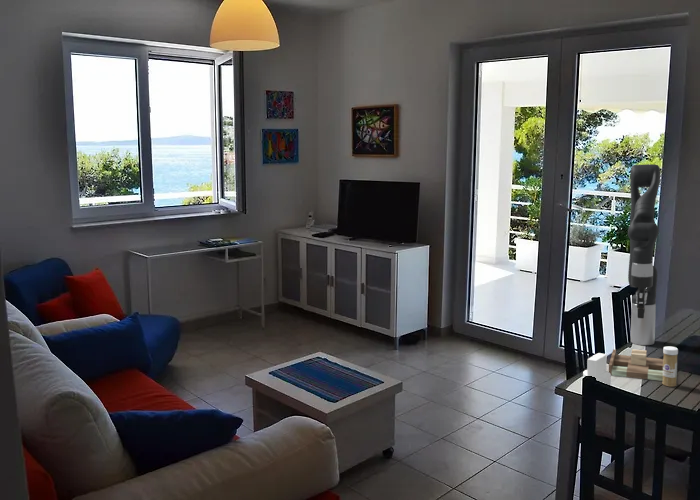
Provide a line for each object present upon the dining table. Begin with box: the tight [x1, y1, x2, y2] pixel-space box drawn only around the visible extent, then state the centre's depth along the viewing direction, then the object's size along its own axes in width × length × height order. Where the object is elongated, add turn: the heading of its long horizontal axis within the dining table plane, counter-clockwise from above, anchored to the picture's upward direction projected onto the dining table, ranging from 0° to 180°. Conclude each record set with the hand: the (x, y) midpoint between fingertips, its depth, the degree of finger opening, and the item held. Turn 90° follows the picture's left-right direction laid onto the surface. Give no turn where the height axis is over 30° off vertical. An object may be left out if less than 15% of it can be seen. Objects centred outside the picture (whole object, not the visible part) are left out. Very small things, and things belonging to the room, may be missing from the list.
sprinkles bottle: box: [661, 345, 679, 387], centre depth 217 cm, size 5×5×14 cm
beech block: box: [630, 348, 648, 366], centre depth 235 cm, size 6×5×4 cm
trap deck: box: [608, 349, 664, 382], centre depth 233 cm, size 19×19×4 cm
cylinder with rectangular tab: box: [582, 352, 612, 385], centre depth 215 cm, size 9×9×12 cm
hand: (641, 315), depth 241 cm, fingers open, 7 cm apart
